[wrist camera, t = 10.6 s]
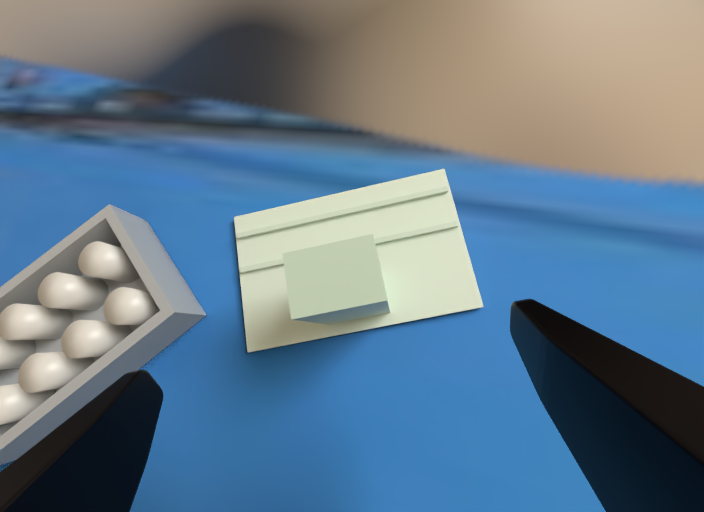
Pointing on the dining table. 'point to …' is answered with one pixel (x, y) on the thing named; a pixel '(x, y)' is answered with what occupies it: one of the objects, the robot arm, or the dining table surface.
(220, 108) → the dining table surface
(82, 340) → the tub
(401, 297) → the pale green grooved stand
